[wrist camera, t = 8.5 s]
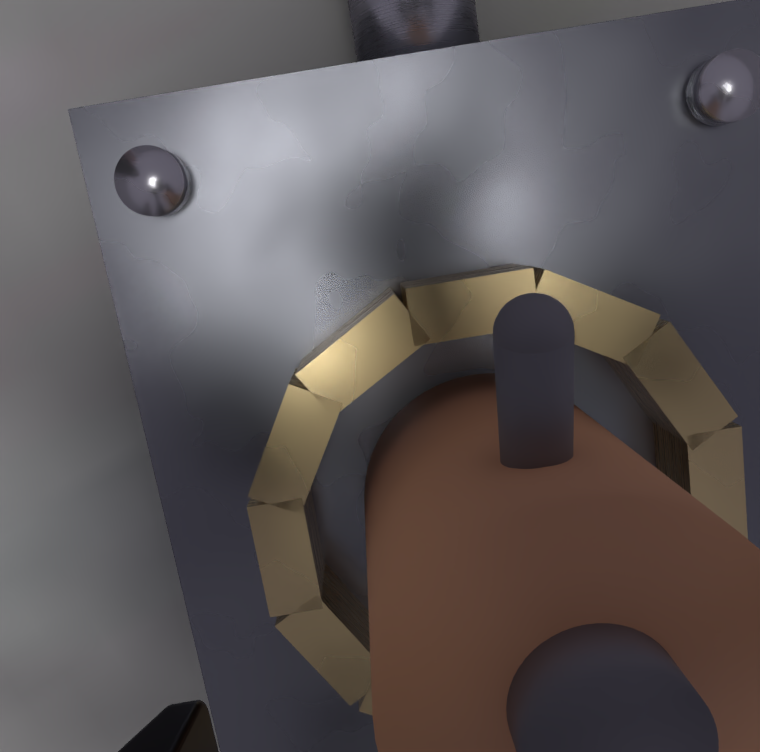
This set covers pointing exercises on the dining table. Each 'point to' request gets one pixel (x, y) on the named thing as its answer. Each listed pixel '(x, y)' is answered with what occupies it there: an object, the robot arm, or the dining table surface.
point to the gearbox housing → (417, 298)
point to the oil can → (548, 574)
